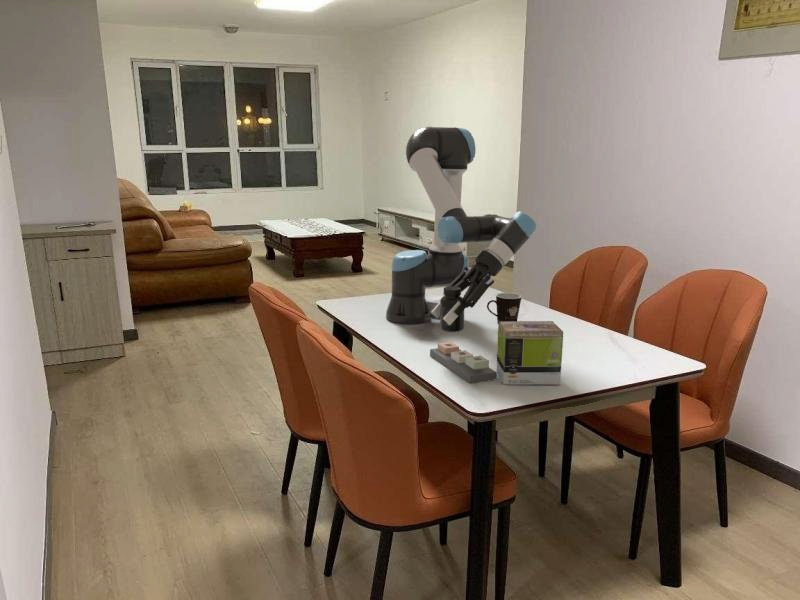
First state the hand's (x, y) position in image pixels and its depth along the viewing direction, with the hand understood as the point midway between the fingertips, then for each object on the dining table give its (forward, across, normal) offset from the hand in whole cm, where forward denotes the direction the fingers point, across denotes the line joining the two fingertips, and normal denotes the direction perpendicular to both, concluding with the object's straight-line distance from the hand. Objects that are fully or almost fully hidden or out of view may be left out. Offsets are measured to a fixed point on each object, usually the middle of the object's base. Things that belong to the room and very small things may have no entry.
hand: (440, 318), depth 178 cm
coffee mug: (-18, +25, -35) cm, 47 cm away
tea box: (-2, -22, -20) cm, 29 cm away
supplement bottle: (0, 0, -5) cm, 5 cm away
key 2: (+4, -16, -8) cm, 18 cm away
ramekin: (-7, +46, -25) cm, 53 cm away
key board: (+6, -8, -11) cm, 15 cm away
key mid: (+5, -8, -9) cm, 13 cm away
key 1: (+5, 0, -9) cm, 10 cm away
